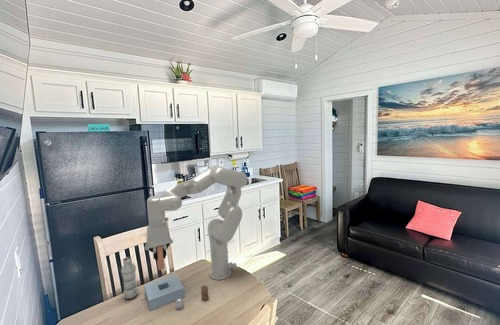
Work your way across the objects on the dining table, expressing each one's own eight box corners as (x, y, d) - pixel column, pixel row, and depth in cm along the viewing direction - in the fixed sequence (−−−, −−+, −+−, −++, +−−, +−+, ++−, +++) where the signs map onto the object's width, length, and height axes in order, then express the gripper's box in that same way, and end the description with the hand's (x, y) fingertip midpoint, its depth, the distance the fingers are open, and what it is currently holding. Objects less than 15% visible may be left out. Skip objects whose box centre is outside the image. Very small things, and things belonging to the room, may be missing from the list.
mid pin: (207, 295, 122) (206, 284, 121) (209, 299, 119) (208, 287, 118) (200, 298, 120) (200, 286, 119) (203, 302, 117) (202, 290, 116)
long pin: (163, 265, 123) (161, 242, 121) (165, 268, 120) (163, 245, 119) (157, 267, 121) (155, 244, 120) (158, 270, 119) (156, 247, 117)
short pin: (182, 304, 116) (181, 295, 116) (184, 308, 114) (183, 299, 113) (175, 307, 115) (174, 298, 114) (177, 311, 112) (176, 302, 111)
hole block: (176, 282, 133) (176, 274, 132) (184, 297, 121) (183, 287, 121) (145, 293, 125) (144, 284, 124) (150, 310, 113) (148, 300, 112)
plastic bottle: (121, 298, 122) (116, 260, 119) (133, 290, 128) (128, 254, 125) (129, 302, 119) (125, 263, 116) (141, 293, 125) (137, 256, 122)
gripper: (172, 216, 125) (175, 250, 128) (137, 223, 117) (140, 260, 119) (176, 220, 119) (179, 256, 121) (139, 228, 110) (143, 267, 113)
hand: (160, 258), depth 120 cm, fingers closed on long pin, 3 cm apart
